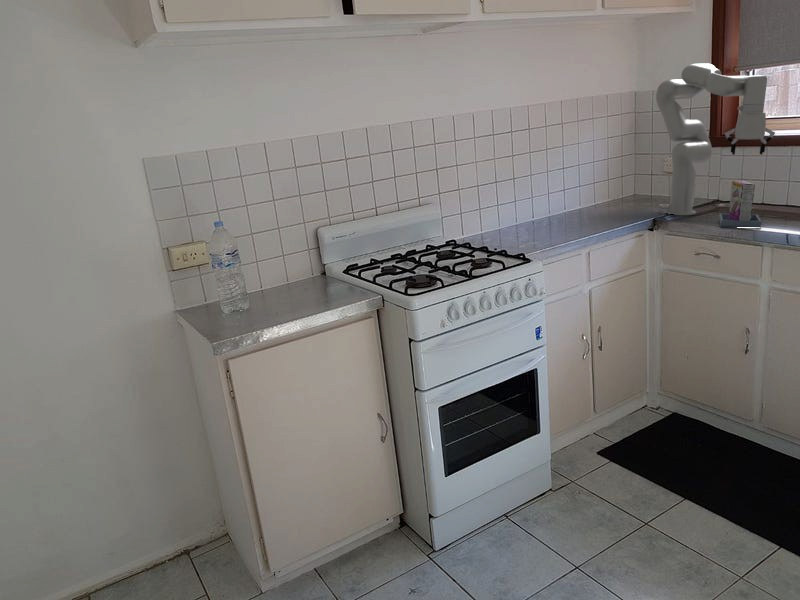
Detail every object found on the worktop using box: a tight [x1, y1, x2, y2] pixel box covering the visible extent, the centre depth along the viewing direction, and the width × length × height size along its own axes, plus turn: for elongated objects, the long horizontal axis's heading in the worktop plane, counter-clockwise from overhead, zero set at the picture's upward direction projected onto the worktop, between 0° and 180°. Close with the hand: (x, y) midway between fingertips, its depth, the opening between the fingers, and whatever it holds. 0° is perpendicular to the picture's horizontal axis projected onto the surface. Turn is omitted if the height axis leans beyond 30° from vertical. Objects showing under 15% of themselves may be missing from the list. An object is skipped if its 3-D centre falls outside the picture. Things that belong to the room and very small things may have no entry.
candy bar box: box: [728, 180, 756, 221], centre depth 258 cm, size 11×5×16 cm, turn 174°
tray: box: [718, 213, 762, 229], centre depth 260 cm, size 14×16×3 cm
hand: (747, 154), depth 252 cm, fingers open, 9 cm apart
